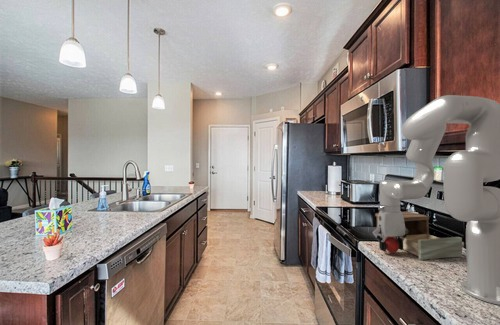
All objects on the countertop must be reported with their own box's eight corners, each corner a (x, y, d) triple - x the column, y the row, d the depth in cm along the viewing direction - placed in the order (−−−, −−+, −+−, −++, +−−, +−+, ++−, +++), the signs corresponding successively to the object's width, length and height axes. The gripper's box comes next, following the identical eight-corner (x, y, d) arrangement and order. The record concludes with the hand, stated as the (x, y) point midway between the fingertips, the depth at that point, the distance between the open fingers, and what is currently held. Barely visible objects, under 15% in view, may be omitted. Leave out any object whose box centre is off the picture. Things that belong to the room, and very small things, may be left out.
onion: (386, 250, 107) (386, 232, 107) (401, 253, 103) (400, 234, 103) (381, 253, 103) (381, 235, 103) (396, 257, 99) (396, 237, 99)
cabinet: (429, 245, 112) (428, 216, 112) (393, 247, 110) (392, 218, 110) (409, 237, 125) (408, 211, 125) (376, 239, 122) (375, 213, 122)
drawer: (462, 256, 97) (461, 237, 97) (421, 259, 95) (420, 240, 95) (430, 244, 112) (430, 228, 112) (394, 247, 109) (394, 230, 109)
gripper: (377, 211, 99) (378, 254, 98) (415, 209, 101) (416, 251, 101) (366, 208, 106) (367, 248, 106) (401, 206, 108) (403, 245, 108)
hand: (391, 249), depth 103 cm, fingers open, 7 cm apart
